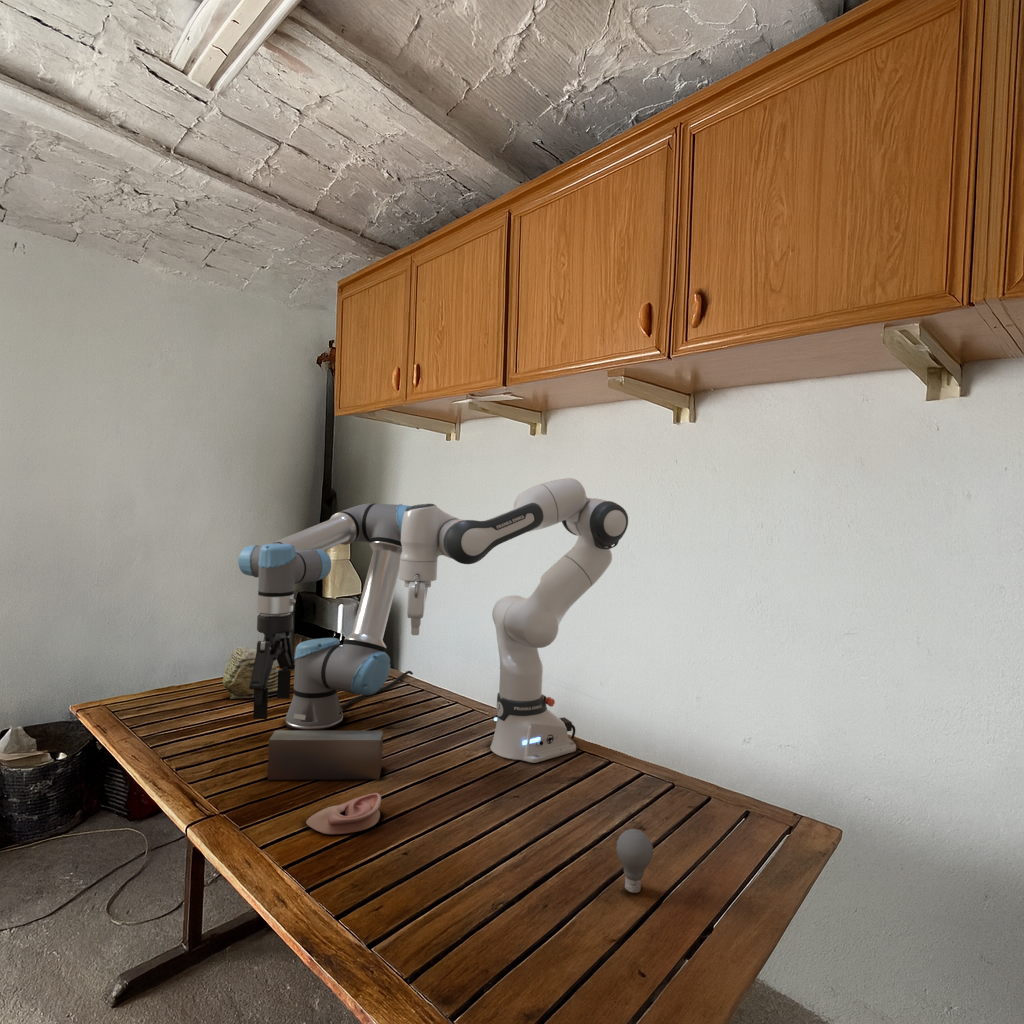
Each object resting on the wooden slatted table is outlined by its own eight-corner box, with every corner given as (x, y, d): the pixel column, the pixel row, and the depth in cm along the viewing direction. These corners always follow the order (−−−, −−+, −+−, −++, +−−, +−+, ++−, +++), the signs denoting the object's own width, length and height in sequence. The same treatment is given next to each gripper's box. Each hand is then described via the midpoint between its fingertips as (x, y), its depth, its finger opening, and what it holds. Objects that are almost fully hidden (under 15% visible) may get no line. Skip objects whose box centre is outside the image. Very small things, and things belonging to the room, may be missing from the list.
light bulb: (610, 879, 108) (613, 822, 108) (644, 879, 109) (647, 822, 109) (619, 902, 102) (622, 840, 102) (655, 901, 103) (658, 840, 103)
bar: (267, 780, 140) (268, 739, 140) (274, 769, 146) (275, 730, 146) (379, 779, 143) (380, 739, 143) (381, 768, 149) (383, 730, 149)
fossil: (218, 695, 195) (220, 647, 195) (278, 685, 208) (279, 640, 207) (228, 703, 189) (230, 653, 188) (289, 692, 201) (290, 645, 201)
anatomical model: (298, 809, 120) (327, 783, 131) (297, 830, 120) (327, 802, 131) (363, 819, 117) (388, 791, 128) (362, 840, 117) (387, 811, 128)
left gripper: (270, 625, 129) (267, 728, 129) (310, 604, 154) (307, 691, 154) (233, 624, 129) (230, 727, 129) (279, 603, 154) (276, 689, 154)
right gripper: (431, 578, 140) (428, 640, 140) (432, 567, 160) (430, 622, 160) (402, 577, 139) (399, 639, 139) (407, 567, 159) (404, 621, 160)
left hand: (272, 707), depth 142 cm, fingers open, 13 cm apart
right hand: (415, 630), depth 150 cm, fingers open, 8 cm apart
